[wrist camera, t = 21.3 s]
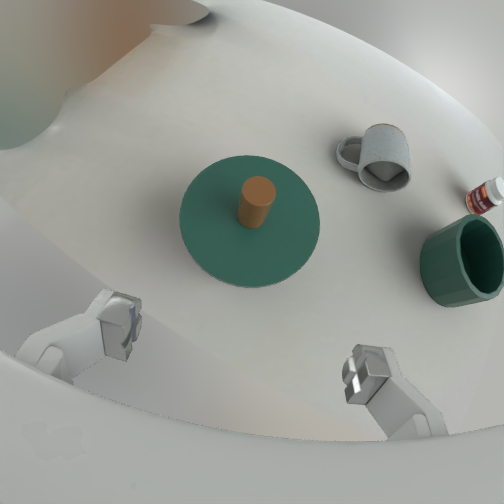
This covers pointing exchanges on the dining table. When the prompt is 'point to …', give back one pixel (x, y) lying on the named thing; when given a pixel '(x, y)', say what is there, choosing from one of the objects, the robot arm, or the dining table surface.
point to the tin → (463, 262)
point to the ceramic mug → (380, 158)
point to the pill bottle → (486, 196)
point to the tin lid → (249, 221)
